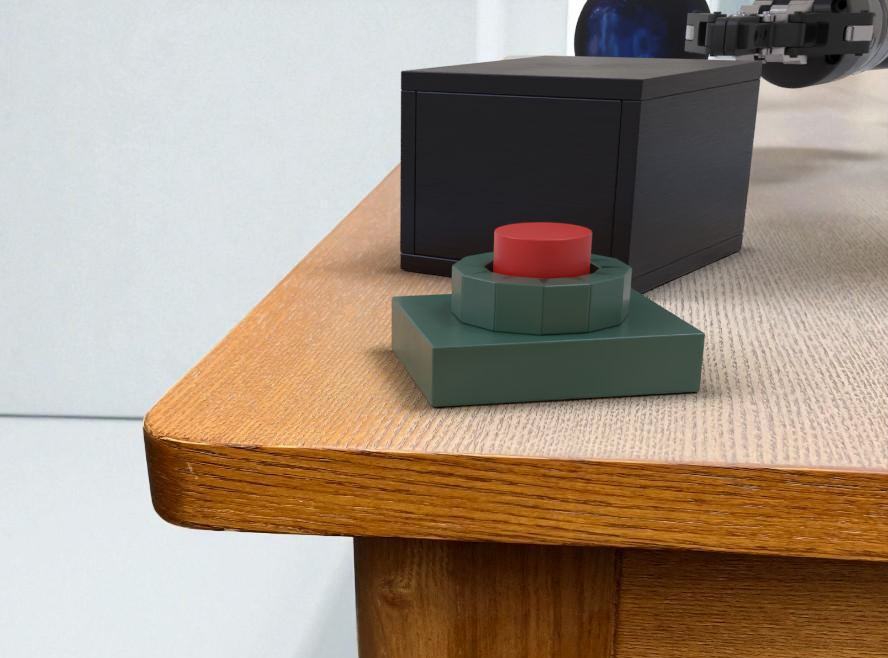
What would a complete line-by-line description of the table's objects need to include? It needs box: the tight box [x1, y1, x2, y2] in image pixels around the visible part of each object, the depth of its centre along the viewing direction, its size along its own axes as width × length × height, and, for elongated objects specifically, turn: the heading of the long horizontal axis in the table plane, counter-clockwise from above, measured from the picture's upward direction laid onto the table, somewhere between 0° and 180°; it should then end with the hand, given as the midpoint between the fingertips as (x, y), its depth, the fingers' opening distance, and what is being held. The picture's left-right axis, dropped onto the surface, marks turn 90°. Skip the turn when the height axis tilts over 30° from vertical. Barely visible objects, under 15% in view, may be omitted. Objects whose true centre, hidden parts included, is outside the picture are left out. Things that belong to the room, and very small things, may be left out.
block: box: [391, 252, 706, 408], centre depth 49 cm, size 10×8×4 cm
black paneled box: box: [399, 55, 762, 294], centre depth 67 cm, size 15×13×10 cm
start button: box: [493, 222, 592, 279], centre depth 48 cm, size 4×4×2 cm
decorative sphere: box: [573, 0, 712, 60], centre depth 143 cm, size 15×15×15 cm
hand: (725, 37), depth 78 cm, fingers closed
